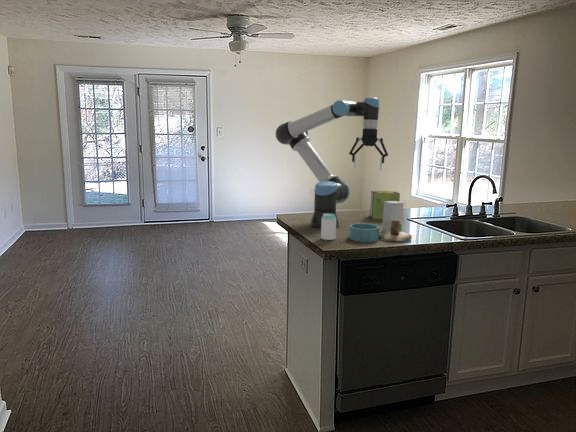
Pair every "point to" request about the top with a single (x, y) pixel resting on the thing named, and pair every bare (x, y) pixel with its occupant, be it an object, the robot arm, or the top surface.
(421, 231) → the top surface
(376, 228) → the bowl
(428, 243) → the top surface
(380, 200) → the protein box
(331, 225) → the can
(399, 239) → the lid
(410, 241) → the mat
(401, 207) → the skincare box
